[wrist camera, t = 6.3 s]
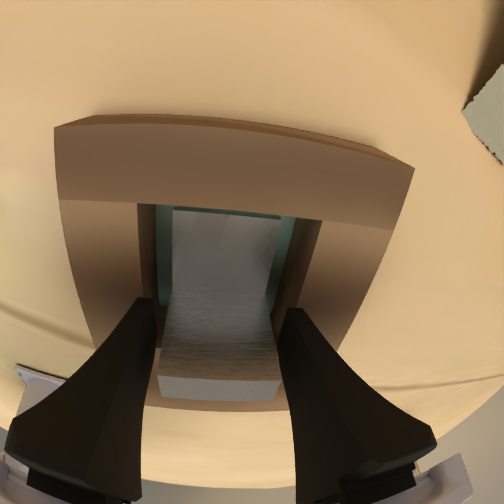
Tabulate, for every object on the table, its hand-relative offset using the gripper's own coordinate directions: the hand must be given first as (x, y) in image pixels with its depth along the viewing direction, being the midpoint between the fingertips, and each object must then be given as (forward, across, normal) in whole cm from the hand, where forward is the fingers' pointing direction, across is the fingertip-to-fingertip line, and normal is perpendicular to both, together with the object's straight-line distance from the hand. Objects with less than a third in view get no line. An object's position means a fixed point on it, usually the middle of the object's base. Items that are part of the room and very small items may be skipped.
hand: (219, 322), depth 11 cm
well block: (+3, 0, +1) cm, 4 cm away
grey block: (+3, 0, -1) cm, 3 cm away
